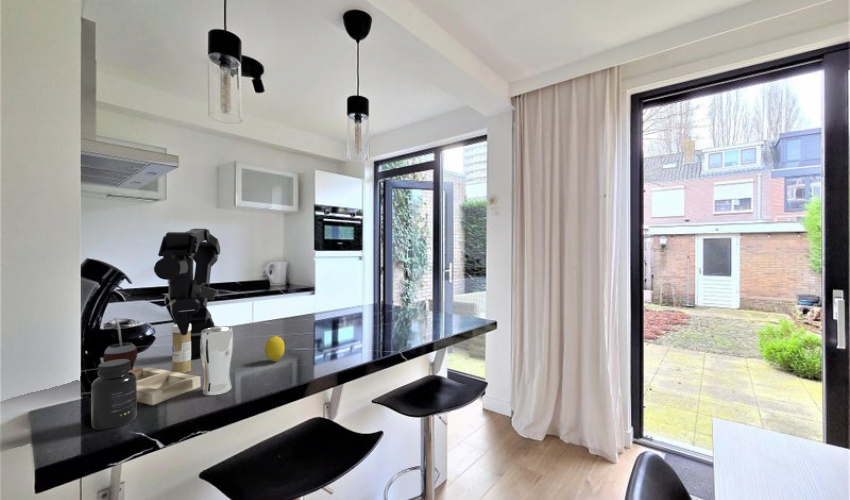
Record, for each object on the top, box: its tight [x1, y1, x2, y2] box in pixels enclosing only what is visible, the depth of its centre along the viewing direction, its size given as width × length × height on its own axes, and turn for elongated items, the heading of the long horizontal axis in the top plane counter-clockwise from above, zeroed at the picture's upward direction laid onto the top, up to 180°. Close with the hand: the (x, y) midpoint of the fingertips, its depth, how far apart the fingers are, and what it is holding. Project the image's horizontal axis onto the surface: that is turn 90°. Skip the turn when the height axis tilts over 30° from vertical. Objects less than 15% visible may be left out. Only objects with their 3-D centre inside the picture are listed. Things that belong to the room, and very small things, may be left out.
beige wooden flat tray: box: [129, 366, 201, 406], centre depth 86 cm, size 21×11×3 cm, turn 69°
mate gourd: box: [102, 317, 138, 371], centre depth 96 cm, size 8×8×15 cm
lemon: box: [264, 335, 286, 363], centre depth 106 cm, size 6×6×8 cm
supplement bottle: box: [90, 359, 138, 431], centre depth 69 cm, size 7×7×12 cm
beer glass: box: [200, 325, 234, 397], centre depth 85 cm, size 7×7×15 cm
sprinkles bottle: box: [171, 324, 192, 374], centre depth 98 cm, size 5×5×14 cm
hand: (181, 331), depth 98 cm, fingers open, 9 cm apart
